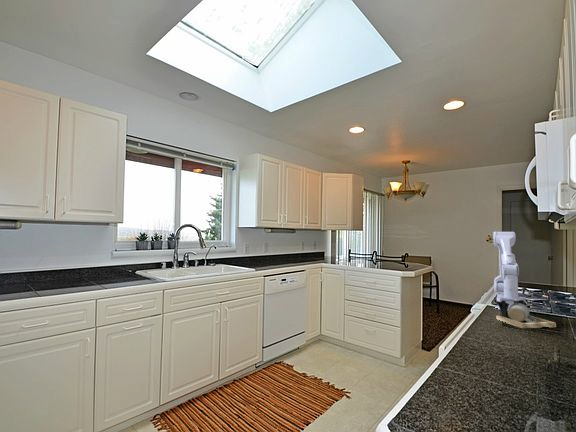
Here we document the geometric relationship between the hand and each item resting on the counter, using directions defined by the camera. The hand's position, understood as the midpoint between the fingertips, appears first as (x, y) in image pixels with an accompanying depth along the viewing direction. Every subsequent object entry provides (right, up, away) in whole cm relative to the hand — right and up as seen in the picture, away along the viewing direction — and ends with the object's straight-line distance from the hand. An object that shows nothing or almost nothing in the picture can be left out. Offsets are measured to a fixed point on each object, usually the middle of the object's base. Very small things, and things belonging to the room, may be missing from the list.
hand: (511, 316), depth 148 cm
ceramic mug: (+2, -1, -4) cm, 5 cm away
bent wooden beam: (+1, -1, -7) cm, 7 cm away
